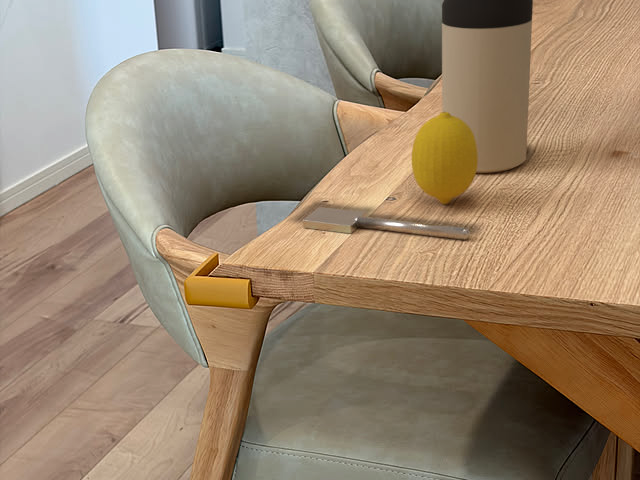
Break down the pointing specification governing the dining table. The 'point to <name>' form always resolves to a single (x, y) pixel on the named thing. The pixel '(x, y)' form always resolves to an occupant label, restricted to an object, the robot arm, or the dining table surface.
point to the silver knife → (375, 224)
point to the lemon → (444, 157)
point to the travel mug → (489, 75)
